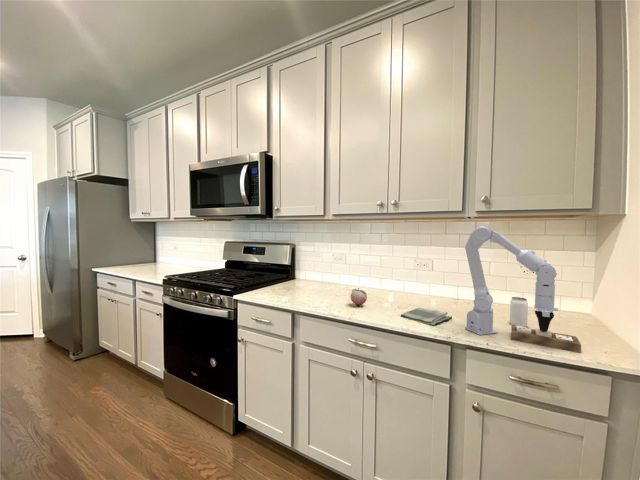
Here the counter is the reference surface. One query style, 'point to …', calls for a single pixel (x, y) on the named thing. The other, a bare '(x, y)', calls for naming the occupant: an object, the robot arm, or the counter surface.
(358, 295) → the decorative fruit
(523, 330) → the three dot tile
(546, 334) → the one dot tile
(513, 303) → the can
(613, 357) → the counter surface
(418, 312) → the dish towel
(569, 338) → the two dot tile
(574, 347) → the brown wooden tray
